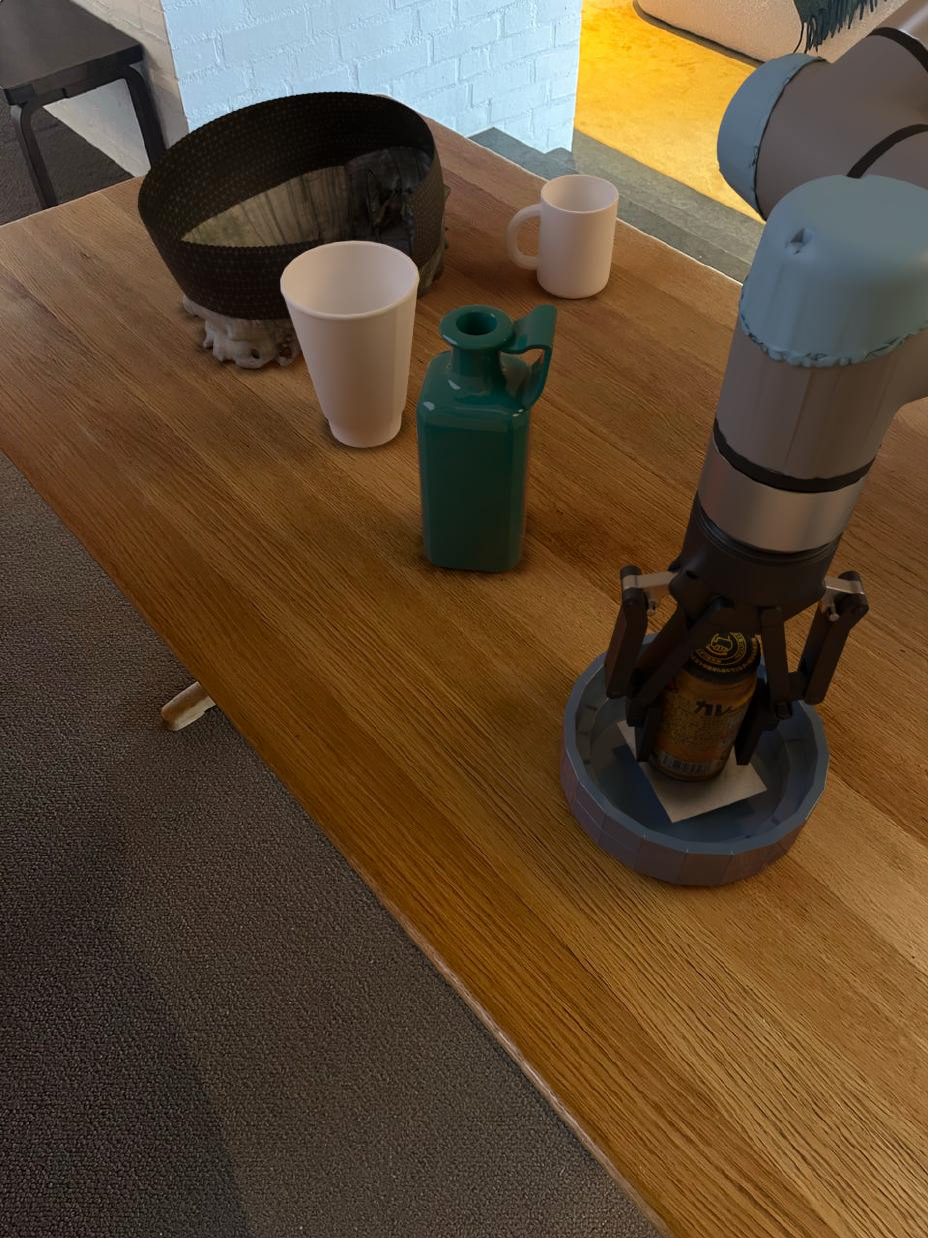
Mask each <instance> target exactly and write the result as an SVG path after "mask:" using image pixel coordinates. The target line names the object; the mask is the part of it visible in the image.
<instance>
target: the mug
mask: <svg viewBox="0 0 928 1238" xmlns="http://www.w3.org/2000/svg"><path fill="white" fill-rule="evenodd" d="M619 197H620V194H619V191H618V188H617V187H616V186H615V185H614V184H613V183H611V182H610V181H608V180H607V179H604V178H602V177H599V176H595V175H591V174H590V175H589V174H578V173H577V174H576V173H575V174H566V175H561V176H558V177H555V178H552V179H550V180H548V181H547V182H545V184H544V185H543V186H542V187H541V190H540V198H539V199H540V200H539V201H540V202H539V203H535V204H531V205H528V206H525V207H523V208H521V209H520V210H519V211H518V212H516V213H515V214H514V215H513V216H512V217H511V218H510V220H509V222H508V223H507V227H506V230H505V234H504V247H505V251H506V254H507V256H508V258H509V259H510V261H511V262H512V263H513V264H514V265H516V266H517V267H519V268H522V269H524V270H530V271H536V278H537V282H538V283H539V285H540V287H541V288H542V289H543V290H544V291H546V292H547V293H549V294H551V295H553V296H555V297H558V298H562V299H569V300H570V299H571V300H577V299H579V300H580V299H584V298H589V297H592V296H594V295H597V294H598V293H600V292H601V291H603V289H604V288H606V286H607V284H608V281H609V278H610V274H611V273H610V272H611V265H612V257H613V249H614V248H613V247H614V239H615V231H616V224H617V216H618V215H617V213H618V207H619ZM530 221H531V222H532V221H538V235H537V237H538V238H537V255H535V256H533V255H532V256H529V255H525V254H523V253H522V252H521V251H520V250H519V248H518V244H517V243H518V242H517V239H518V234H519V232H520V230H521V228H522V227H523V226H524V225H525V224H527V223H528V222H530Z"/></svg>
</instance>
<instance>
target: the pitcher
mask: <svg viewBox="0 0 928 1238" xmlns="http://www.w3.org/2000/svg"><path fill="white" fill-rule="evenodd" d="M558 315H559V313H558V308H557V307H556V306H554V305H553V304H549V303H547V304H546V303H545V304H544V303H543V304H540V305H537V306H535V307H534V308H532V309H531V310H530V311H529V312H528V313H527V314H526V315H525V316H523V317H521V318H519V319H515V320H512V318H511V316H510V314H508V313H506V312H505V311H503V310H502V309H501V308H498V307H495V306H492V305H489V304H481V303H480V304H478V303H471V304H466V305H460V306H458V307H456V308H453V309H451V310H449V311H448V312H446V314H444V315H443V317H441V319H440V321H439V324H438V327H437V330H438V332H439V335H440V337H441V339H442V340H443V341H444V342H445V343H447V344H448V345H449V346H450V349H448V350H444V351H440V353H437V354H435V355H434V356H433V357H432V358H431V359H430V360H429V361H428V363H427V365H426V369H425V373H424V377H423V381H422V384H421V387H420V392H419V395H418V399H417V401H416V402H417V403H416V406H415V410H414V411H415V412H414V414H415V415H414V416H415V430H416V431H415V432H416V433H415V434H416V449H417V465H418V467H417V468H418V483H419V498H420V516H421V532H422V534H421V535H422V548H423V552H424V556H425V557H426V559H428V561H429V562H430V563H431V564H433V565H435V566H437V567H440V568H447V569H459V570H468V571H479V572H488V573H497V574H499V573H503V572H509V571H510V570H512V569H513V568H515V567H516V566H518V564H519V562H520V561H521V560H522V555H523V551H524V550H523V549H524V542H525V534H526V527H527V523H528V522H527V521H528V510H529V494H530V477H531V459H532V444H533V427H534V412H535V411H534V410H535V404H536V403H537V401H538V400H539V399H540V397H542V394H543V392H544V390H545V387H546V382H547V378H548V374H549V370H550V366H551V361H552V356H553V351H554V343H555V338H556V337H555V335H556V329H557V323H558ZM531 350H541V353H540V354H539V357H537V359H536V360H535V362H533V363H532V364H530V363H529V362H528V361H526V359H524V358H523V357H521V356H520V355H524V354H525V353H527V352H528V351H531Z"/></svg>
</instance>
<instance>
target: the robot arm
mask: <svg viewBox="0 0 928 1238" xmlns="http://www.w3.org/2000/svg"><path fill="white" fill-rule="evenodd" d="M716 138H717V139H716V159H717V163H718V172H719V173H720V174H721V176H722V178H723V179H724V181H725V182H726V184H727V185H728V187H730V188H731V189H732V191H734V192H735V193H736V194H737V195H738V196H739V197H740V198H741V199H742V200H743V201H744V202H745V203H746V204H747V205H748V206H749V207H751V209H752V210H754V212H755V213H756V214H758V216H759V218H760V219H761V220H762V221H764V223H765V224H764V227H763V230H762V234H761V236H760V240H759V241H758V244H757V248H756V250H755V254H754V257H753V260H752V263H751V266H750V268H749V272H748V274H747V275H746V277H745V279H744V281H743V284H742V286H741V290H740V296H739V299H738V303H737V306H738V311H737V317H736V322H735V326H734V331H733V335H732V339H731V344H730V348H729V353H728V357H727V363H726V365H725V366H726V367H725V370H724V371H725V372H724V376H723V380H722V384H721V387H720V394H719V399H718V403H717V407H716V410H715V414H714V419H713V424H712V427H711V431H710V437H709V439H708V444H707V447H706V451H705V455H704V459H703V463H702V467H701V471H700V473H699V478H698V482H697V490H696V492H695V495H694V497H693V500H692V506H691V509H690V514H689V518H688V521H687V526H686V530H685V534H684V538H683V542H682V546H681V547H682V548H681V551H680V552H679V554H678V555H677V556H676V558H674V559H673V560H672V561H671V562H670V563H669V565H668V567H667V570H664V571H659V572H653V573H647V574H646V573H645V574H643V573H642V569H641V567H639V566H638V565H635V564H627V565H625V566H623V567H622V568H621V569H620V570H619V580H620V581H619V582H620V591H621V593H620V594H621V604H620V606H619V609H618V614H617V616H616V621H615V624H614V627H613V631H612V634H611V637H610V641H609V644H608V647H607V650H606V651H607V654H606V657H605V661H604V673H605V688H606V696H607V697H608V698H610V699H620V698H622V697H624V696H626V697H627V698H626V703H625V712H626V723H627V725H628V727H634V732H635V745H636V758H637V762H648V760H649V756H650V753H651V749H652V746H653V742H654V738H655V735H656V731H657V727H658V724H659V720H660V717H661V713H662V699H661V691H662V690H663V689H664V687H665V686H666V685H667V684H668V683H669V682H670V680H671V679H672V678H673V677H674V676H675V674H676V673H677V672H678V671H679V670H680V668H681V667H682V666H683V665H684V664H685V663H686V661H687V660H688V659H689V658H690V657H691V655H692V654H693V653H694V652H695V651H696V649H697V648H698V649H704V648H705V647H706V646H707V644H708V643H709V642H710V641H711V640H712V639H713V637H714V636H715V635H716V634H723V633H731V632H738V633H743V634H748V635H755V636H760V641H761V648H762V655H763V656H764V663H765V670H766V677H767V682H766V684H765V679H764V678H757V687H756V690H755V692H754V694H753V697H752V700H751V702H750V705H749V707H748V710H747V713H746V715H745V717H744V720H743V722H742V725H741V727H740V730H739V733H738V735H737V738H736V740H735V743H734V751H735V757H736V764H737V765H740V766H748V764H749V762H750V760H751V757H752V755H753V753H754V750H755V748H756V746H757V744H758V741H759V739H760V737H761V734H762V732H763V731H773V730H774V729H776V728H777V727H778V725H779V722H780V720H788V719H790V718H792V717H793V716H794V710H793V706H792V702H795V701H800V700H804V703H805V704H807V705H813V706H816V705H819V704H821V703H823V702H824V700H825V698H826V695H827V693H828V690H829V688H830V685H831V682H832V680H833V677H834V675H835V672H836V669H837V667H838V663H839V661H840V658H841V656H842V654H843V651H844V648H845V645H846V643H847V640H848V637H849V635H850V632H851V631H852V629H853V628H854V627H856V625H857V624H858V623H859V622H860V621H861V620H862V619H864V617H865V616H866V615H867V614H868V612H869V611H870V605H869V602H868V598H867V594H866V592H865V588H864V585H863V581H862V579H861V578H862V577H861V574H860V572H859V571H856V570H846V571H844V572H843V571H842V572H841V573H840V574H839V575H838V576H837V577H833V576H829V575H827V574H828V571H829V569H830V568H831V564H832V562H833V560H834V557H835V555H836V553H837V550H838V548H839V546H840V543H841V541H842V539H843V536H844V531H845V530H846V529H847V527H848V526H849V522H850V521H851V518H852V516H853V513H854V510H855V508H856V506H857V503H858V501H859V499H860V496H861V494H862V492H863V489H864V487H865V484H866V482H867V480H868V477H869V475H870V473H871V471H872V468H873V465H874V463H875V461H876V458H877V456H878V453H879V450H880V449H881V448H882V443H883V441H884V439H885V437H886V435H887V433H888V431H889V429H890V426H891V425H892V422H893V420H894V418H895V416H896V414H897V413H898V412H899V410H900V409H901V408H903V407H904V406H906V405H907V404H910V403H914V402H916V401H920V400H922V399H925V398H928V0H907V1H905V2H904V3H903V4H901V6H899V7H898V8H897V9H895V10H894V11H893V12H892V13H891V14H890V15H888V16H887V17H886V18H885V19H884V20H883V21H881V22H880V23H879V24H877V26H875V27H874V28H873V29H872V30H871V31H870V32H869V33H867V34H866V36H864V37H863V38H861V39H860V40H858V41H857V42H856V43H855V44H854V45H853V46H851V47H850V48H849V49H847V50H846V51H845V52H844V53H843V54H842V55H840V56H839V57H838V58H837V59H836V60H835V61H833V62H830V61H829V60H827V58H824V57H823V56H820V55H817V56H813V55H811V54H808V53H805V52H791V53H787V54H784V55H781V56H779V57H775V58H774V57H773V58H770V59H769V60H767V61H765V62H764V63H762V64H761V65H759V66H758V67H757V68H755V70H753V71H752V72H751V73H750V74H749V75H748V76H747V77H746V79H744V80H743V82H741V84H740V86H739V87H738V89H737V90H736V92H735V93H734V94H733V96H731V99H730V100H729V103H728V104H727V107H726V108H725V111H724V113H723V116H722V119H721V122H720V124H719V128H718V133H717V137H716ZM667 596H671V597H672V598H673V600H674V601H675V602H676V604H677V605H676V608H675V611H674V612H673V614H672V615H671V616H670V617H669V619H668V620H667V622H666V623H665V624H664V625H663V627H662V628H661V629H660V630H659V631H658V632H659V633H658V634H657V636H656V637H655V638H654V639H653V641H652V642H651V643H650V645H649V646H648V647H647V649H646V650H645V651H644V652H643V654H642V655H641V656H640V658H639V659H638V660H637V658H638V655H639V652H640V649H641V646H642V643H643V640H644V637H645V635H647V632H648V627H649V617H653V616H655V615H656V613H657V612H656V611H657V610H656V609H657V608H658V607H659V606H660V605H661V602H662V600H663V599H664V598H665V597H667ZM817 603H818V604H817ZM815 604H817V607H816V609H815V611H814V612H815V613H814V615H813V619H812V622H811V625H810V628H809V630H808V634H807V637H806V640H805V643H804V646H803V649H802V652H801V655H800V659H799V662H798V664H797V668H796V671H790V672H789V664H788V654H787V641H786V631H785V623H786V622H788V621H789V620H791V619H793V618H794V617H796V616H797V615H799V614H801V613H802V612H804V611H805V610H808V609H809V608H810V607H812V606H813V605H815Z"/></svg>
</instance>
